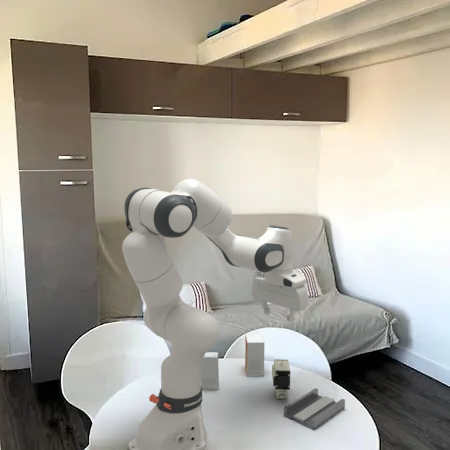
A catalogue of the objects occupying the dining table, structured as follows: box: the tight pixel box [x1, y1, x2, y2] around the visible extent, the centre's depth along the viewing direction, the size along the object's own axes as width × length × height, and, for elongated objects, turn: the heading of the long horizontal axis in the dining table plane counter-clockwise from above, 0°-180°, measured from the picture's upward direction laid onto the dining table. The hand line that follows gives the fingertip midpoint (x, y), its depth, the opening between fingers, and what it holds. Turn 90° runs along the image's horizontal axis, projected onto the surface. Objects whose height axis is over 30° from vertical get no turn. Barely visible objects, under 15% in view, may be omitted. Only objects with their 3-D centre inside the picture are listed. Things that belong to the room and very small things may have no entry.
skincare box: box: [201, 351, 220, 391], centre depth 173 cm, size 6×4×12 cm
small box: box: [244, 333, 265, 377], centre depth 185 cm, size 8×6×13 cm
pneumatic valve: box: [271, 359, 291, 399], centre depth 167 cm, size 6×12×12 cm, turn 178°
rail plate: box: [283, 387, 346, 431], centre depth 158 cm, size 17×11×3 cm, turn 136°
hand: (278, 317), depth 164 cm, fingers open, 8 cm apart
